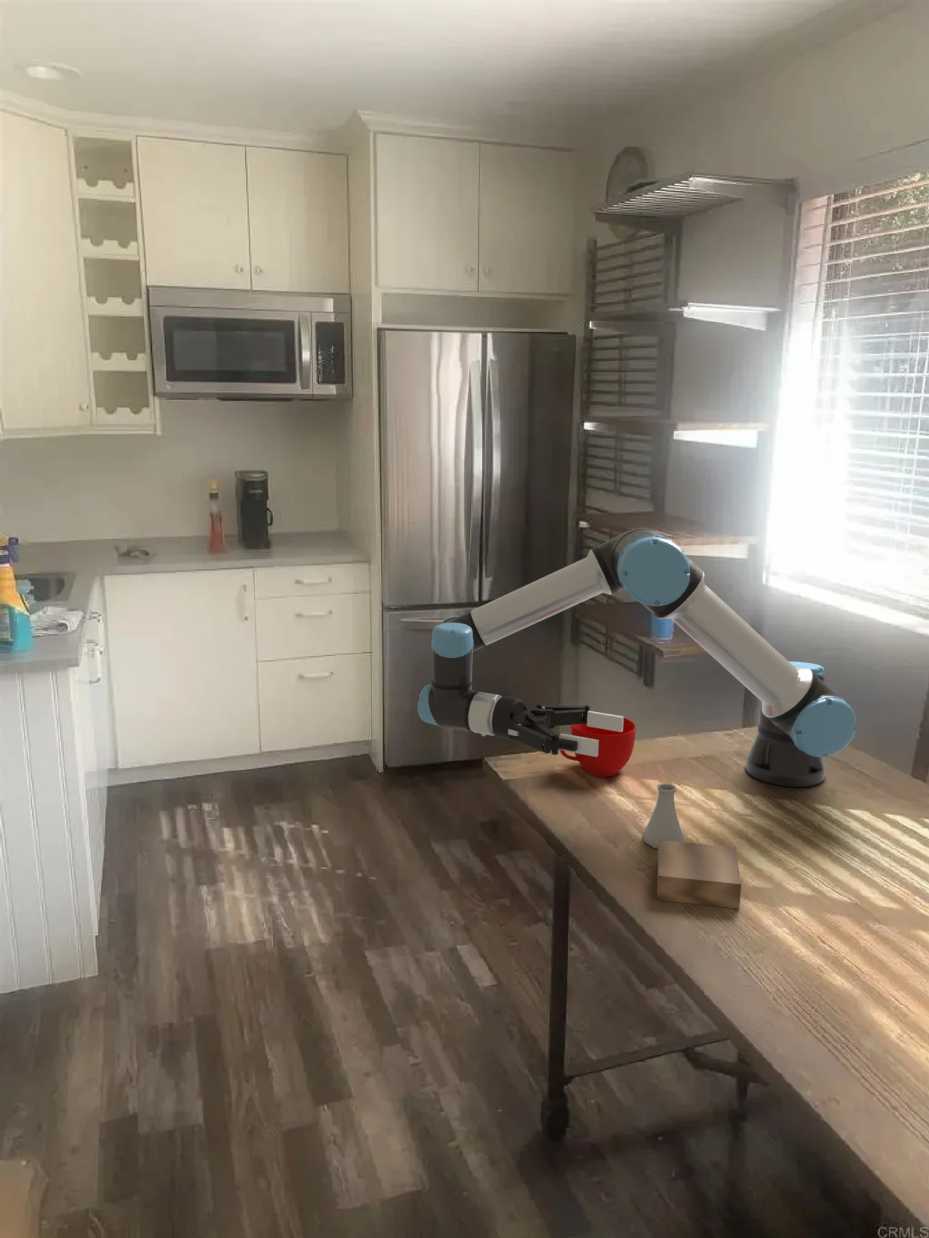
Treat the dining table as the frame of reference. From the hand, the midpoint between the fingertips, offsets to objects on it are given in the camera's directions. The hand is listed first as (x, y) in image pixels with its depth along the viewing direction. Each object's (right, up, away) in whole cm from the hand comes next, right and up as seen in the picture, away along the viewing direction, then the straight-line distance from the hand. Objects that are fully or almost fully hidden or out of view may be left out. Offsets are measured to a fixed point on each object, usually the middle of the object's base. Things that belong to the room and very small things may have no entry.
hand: (610, 735), depth 158 cm
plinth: (+11, -21, -15) cm, 28 cm away
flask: (+9, -18, 0) cm, 20 cm away
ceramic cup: (+1, -11, +29) cm, 31 cm away
